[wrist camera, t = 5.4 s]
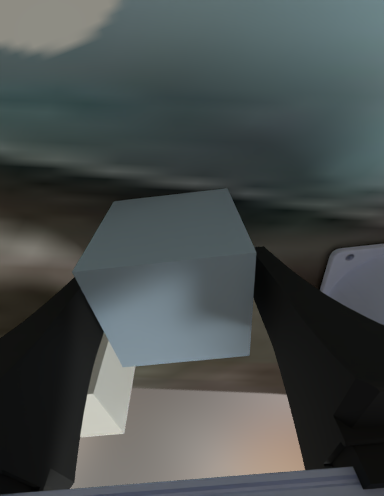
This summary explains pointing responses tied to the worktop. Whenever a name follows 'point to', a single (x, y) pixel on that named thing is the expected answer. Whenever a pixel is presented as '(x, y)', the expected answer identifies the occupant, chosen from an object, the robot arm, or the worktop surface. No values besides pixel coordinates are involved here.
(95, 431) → the cover
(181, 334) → the cover
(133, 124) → the worktop surface
